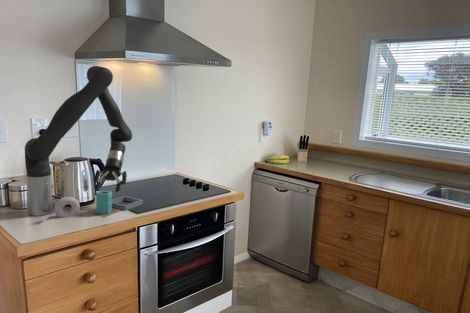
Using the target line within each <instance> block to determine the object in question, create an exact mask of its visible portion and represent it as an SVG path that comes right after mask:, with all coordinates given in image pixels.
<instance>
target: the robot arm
mask: <svg viewBox="0 0 470 313" xmlns="http://www.w3.org/2000/svg"><path fill="white" fill-rule="evenodd" d="M113 78H114V75H113V72H112V71H111V70H110V69H109V68H107V67H104V66H99V65H92V66H90V67H89V68H88V69H87V72H86V79H87V80H88V82H87V83H86V84H85V85H84V87H82V88H81V89H79V91H77V92H75V93H74V94H72V95H71V96H69V97H68V98H67V99H66V100H64V102H63V103H62V104H61V105H60V106H59V107H58V109H56V112H54V115H53V117H52V118H51V120H50V122H49V124H48V125H47V126H46V129H44V130H43V132H42V133H41V134H39V136H38V137H33V138H31V139H29V140H28V141H27V142H25V145H24V159H25V160H24V161H25V171H26V184H27V186H26V187H27V191H26V208H27V209H26V210H27V211H26V212H27V214H28V215H29V216H33V217H34V216H36V217H39V216H45V215H49V214H50V213H53V200H52V199H53V198H52V197H53V196H52V171H51V170H52V168H51V165H50V156H51V154H52V153H53V152H54V150H55V149H56V147H57V146H58V144H59V142H60V141H61V140H62V139H63V138H64V137H65V135H66V134H67V133H68V132H69V131H70V130H71V129H72V128H73V126H75V124H77V122H78V121H79V120H80V118H81V117H83V115H84V114H85V113H86V111H87V110H88V109H89V108H90V107H91V105H92V104H93V103H94V101H95V100H96V99H98V100H99V102H100V104H101V106H102V109H103V111H104V114H105V116H106V119H107V122H108V124H109V126H110V127H113V128H115V129H112V130H111V131H110V134H109V135H110V149H109V152H108V155H107V157H106V161H105V164H104V169H103V170H102V171H100V170H99V169H96V171H95V174H94V177H93V183H94V184H96V185H95V190H96V191H97V192H100V191H101V190H100V189H101V186H102V184H103V183H105V182H106V181H108V182H110V181H112V182H116V186H115V193H119V192H120V190H121V186H122V185H126V183H127V177H128V174H127V171H126V170H124V171H123V172H121V171H122V167H123V164H124V158H125V157H124V156H125V152H126V145H125V144H124V143H126V142H130V141H131V140H132V138H133V131H132V130H131V128H130V127H129V125H128V124H127V123H126V121H125V120H124V118H123V115H122V113H121V110H120V108H119V106H118V104H117V102H116V101H115V100H114V98H113V96H112V95H111V93H110V91H109V86H110V85H111V84H112V82H113ZM119 177H122V178H121V180H120V178H119Z"/></svg>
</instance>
